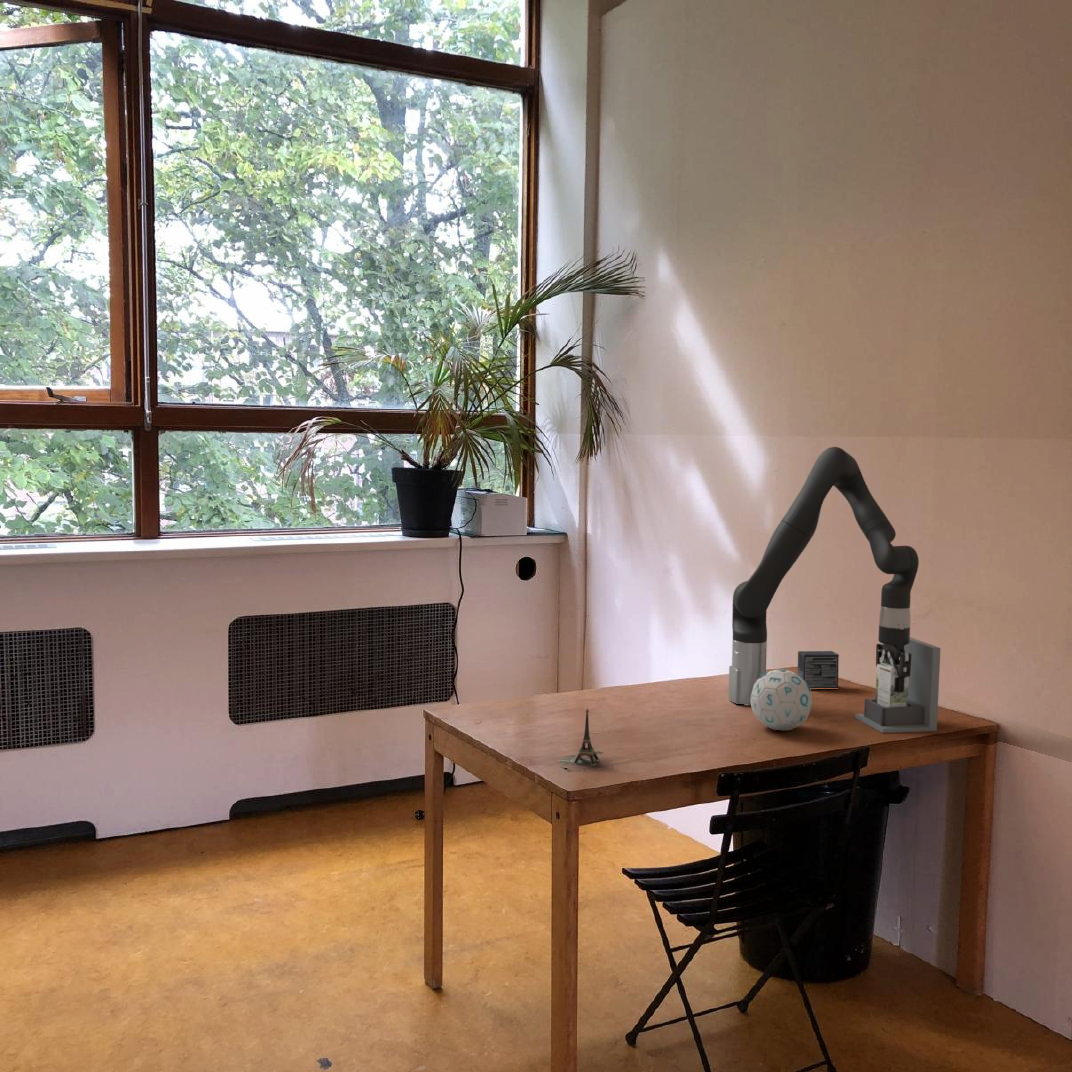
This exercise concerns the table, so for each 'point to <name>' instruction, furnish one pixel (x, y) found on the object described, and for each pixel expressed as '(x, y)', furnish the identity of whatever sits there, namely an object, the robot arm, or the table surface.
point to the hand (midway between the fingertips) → (891, 688)
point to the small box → (819, 668)
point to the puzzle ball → (781, 700)
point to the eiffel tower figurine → (583, 751)
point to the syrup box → (889, 687)
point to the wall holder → (911, 695)
